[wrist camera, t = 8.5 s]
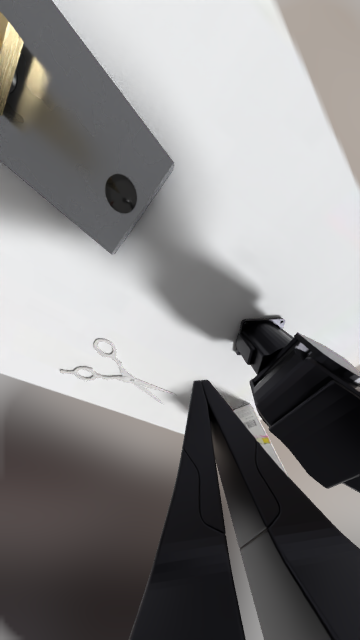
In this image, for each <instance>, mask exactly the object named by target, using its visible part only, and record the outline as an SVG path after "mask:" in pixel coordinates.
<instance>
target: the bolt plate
mask: <svg viewBox="0 0 360 640" xmlns="http://www.w3.org/2000/svg"><path fill="white" fill-rule="evenodd" d="M0 12H1V13H2V14H3V15H4V16H5V18H6V19H7V20H8V21H9V22H10V24H11V25H12V27H13V28H14V29H15V31H16V32H17V33H18V35H19V36H20V38H21V39H22V40H23V42H24V43H23V46H22V50H21V53H20V57H19V60H18V63H17V67H16V70H15V74H14V77H13V80H12V84H11V87H10V91H9V94H8V97H7V101H6V104H5V108H4V111H3V114H2V116H1V115H0V161H1V162H3V163H4V164H5V165H6V166H7V167H9V168H10V169H11V170H12V171H13V172H14V173H16V174H17V175H18V176H19V177H20V178H22V179H23V180H24V181H25V182H26V183H28V184H29V185H30V186H31V187H32V188H33V189H35V190H36V191H37V192H38V193H39V194H41V195H42V196H43V197H44V198H45V199H46V200H48V201H49V202H50V203H51V204H52V205H54V206H55V207H56V208H57V209H58V210H60V211H61V212H62V213H63V214H64V215H65V216H67V217H68V218H69V219H70V220H71V221H73V222H74V223H75V224H76V225H77V226H78V227H80V228H81V229H82V230H83V231H84V232H86V233H87V234H88V235H89V236H90V237H92V238H93V239H94V240H95V241H96V242H97V243H99V244H100V245H101V246H102V247H103V248H105V249H106V250H107V251H108V252H109V253H110V254H115V253H116V251H117V250H118V249H119V247H120V246H121V244H122V243H123V241H124V240H125V238H126V237H127V236H128V234H129V233H130V231H131V230H132V228H133V227H134V225H135V224H136V223H137V221H138V220H139V218H140V217H141V215H142V214H143V212H144V211H145V210H146V208H147V207H148V205H149V204H150V202H151V201H152V199H153V198H154V197H155V195H156V194H157V192H158V191H159V189H160V188H161V187H162V185H163V184H164V182H165V181H166V179H167V178H168V176H169V175H170V174H171V172H172V171H173V169H174V162H173V161H172V159H171V158H170V157H169V155H168V154H167V153H166V151H165V150H164V149H163V148H162V146H161V145H160V144H159V142H158V141H157V140H156V138H155V137H154V136H153V134H152V133H151V132H150V130H149V129H148V128H147V126H146V125H145V124H144V122H143V121H142V120H141V118H140V117H139V116H138V114H137V113H136V112H135V110H134V109H133V108H132V106H131V105H130V104H129V102H128V101H127V100H126V98H125V97H124V96H123V94H122V93H121V92H120V90H119V89H118V88H117V86H116V85H115V84H114V82H113V81H112V80H111V78H110V77H109V76H108V74H107V73H106V72H105V71H104V69H103V68H102V67H101V65H100V64H99V63H98V61H97V60H96V59H95V57H94V56H93V55H92V53H91V52H90V51H89V49H88V48H87V47H86V45H85V44H84V43H83V41H82V40H81V39H80V37H79V36H78V35H77V33H76V32H75V31H74V29H73V28H72V27H71V25H70V24H69V23H68V21H67V20H66V19H65V17H64V16H63V15H62V13H61V12H60V11H59V9H58V8H57V7H56V5H55V4H54V3H53V1H52V0H0Z"/></svg>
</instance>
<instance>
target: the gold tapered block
mask: <svg viewBox="0 0 360 640" xmlns="http://www.w3.org/2000/svg"><path fill="white" fill-rule="evenodd" d="M23 43H24V42H23V40H22V39H21V38H20V36H19V35H18V33H17V32H16V31H15V29H14V28H13V27H12V25H11V24H10V22H9V21H8V20H7V19H6V18H5V16H4V15H3V14H2V13H1V12H0V115H1V116H2V114H3V111H4V108H5V104H6V101H7V97H8V94H9V91H10V87H11V84H12V80H13V77H14V74H15V70H16V67H17V63H18V60H19V57H20V53H21V50H22V46H23Z"/></svg>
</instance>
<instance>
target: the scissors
mask: <svg viewBox="0 0 360 640" xmlns="http://www.w3.org/2000/svg"><path fill="white" fill-rule="evenodd" d="M102 341H103V342H107V343H108V344H110V345H111V346H112V348H113V353H112V354H106V353H104V352H103V351H101V350H100V349H99V347H98V346H97V344H98V343H99V342H102ZM94 348H95V350H96V351H97V353H98V354H100V355H101V356H103V357H110V358H112V360H114V361H116V362H117V364H118V366H119V368H120V371H121V374H122V376H104V375H101V374H98V373H96V372H95V371H94V369H93V368H90V367H78V368H76V369H75V371H68V370H63V369H62V370H61V371H60V373H62V374H64V373H68V374H74V375H75V376H76V377H78V378H79V379H82V380H85V381H91V380H94V379H96V378H103V379H106V380H108V379H117V380H120V381H123V382H129V383H133V384H134V385H135V386H137V387H138V388H139V389H141V390H142V391H144V392H145V393H146V394H148V395H149V396H151V397H153V398H154V399H156V400H157V401H158V402H160V403H162V402H161V401H160V400H159V399H158V398H157V397H156V396H155V395H153V394H152V393H151V392H150V391H149V390H147V389H146V388H144V387H143V386H145V387H149V388H152V389H156V390H160V391H163V392H167V393H171V392H169V391H167V390H164V389H162V388H159V387H157V386H154V385H152V384H149V383H147V382H144V381H142V380H139V379H136V378H134V377H133V376H132V375H131V374H129V373H128V372H127V371H126V370H125V369H124V368H123V367H122V362H120V361H119V360H118V359H116V352H117V350H116V348H115V345H114V344H113V343H112V342H110V341H109V340H106V339H97V340H96V341H95V343H94ZM78 370H87V371H89V372H91V373H92V374H93V376H92V377H90V378H87V377H83V376H81V375H79V373H78ZM141 385H142V386H141ZM171 394H173V393H171ZM175 395H176V394H175ZM162 404H163V403H162Z"/></svg>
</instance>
